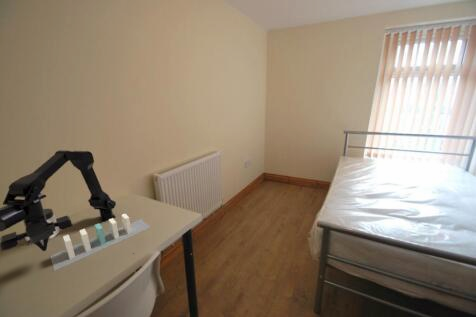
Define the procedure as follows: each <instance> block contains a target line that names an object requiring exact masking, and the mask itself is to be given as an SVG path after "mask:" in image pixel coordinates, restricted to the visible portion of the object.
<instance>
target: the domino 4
mask: <svg viewBox="0 0 476 317" xmlns="http://www.w3.org/2000/svg"><path fill="white" fill-rule="evenodd" d="M108 223H109V224H108V225H109V229H110V230H109V231H111V235H112V236H113V237H114V239H117V238H119V233H118V228H119V227H118V222H117V221H116V220H115V218H112V219H109V220H108Z"/></svg>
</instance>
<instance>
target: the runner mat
mask: <svg viewBox="0 0 476 317" xmlns="http://www.w3.org/2000/svg"><path fill="white" fill-rule="evenodd" d="M130 225H131V231H132V232H131V233H128V234H127V232H126V231H125V230H124V228H123V225H122V226H120V227H117V228H118V233H119V238H117V239H114V237H113V236H112V235H111V230H109V232H108V231H107V232H104V236H105V241H106V244H104V245H101V244H100V243H99V241H98V238H97V236H96V237H93V238H91V239H89V242H90V246H91V250H90V251H87V252H86V251H85V249H84V247H83V243H82V242H80V243H79V244H76V245H72V246H73V250H74V253H75V257H74V258H71V259H70V258H69V256H68V253H67V250H66V249H63V250H61V251H58V252H57V253H53V254H52V255H49V256H50V260H51V264H52V266H53V270H54V271H57V270H60V269H62V268H64V267H66V266H68V265H71V264H73V263H75V262H77V261H79V260H81V259H84V258H87V257H88V256H91V255H93V254H95V253H97V252H100V251H102V250H104V249H106V248H108V247H111V246H113V245H115V244H117V243H120V242H121V241H124V240H126V239H128V238H130V237H132V236H135V235H137V234H139V233H141V232H145V231H146V230H148V229H151V228H152V227H151V226H150V225H149V224H148V222H146V221H145V220H143V218H140V219H137V220H134V221H133V222H130Z"/></svg>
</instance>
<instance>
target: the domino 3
mask: <svg viewBox="0 0 476 317" xmlns="http://www.w3.org/2000/svg"><path fill="white" fill-rule="evenodd" d="M94 229H95V233H96V237H97V238H98V241H99V243H100V244H101V245H104V244H106V241H105V236H104V234H105V232H104V228H103V226H102V224H101V223H96V224H94Z"/></svg>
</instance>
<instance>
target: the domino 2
mask: <svg viewBox="0 0 476 317" xmlns="http://www.w3.org/2000/svg"><path fill="white" fill-rule="evenodd" d="M79 235H80V239H81V243H83V247H84V249H85V251H86V252H87V251H90V250H91V246H90V242H89V240H90V238H89V234H88V232H87V231H86V229H85V228H83V229H80V230H79Z"/></svg>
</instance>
